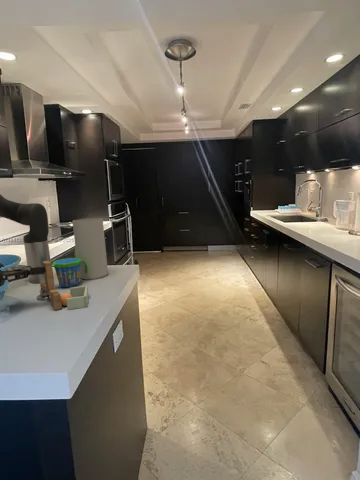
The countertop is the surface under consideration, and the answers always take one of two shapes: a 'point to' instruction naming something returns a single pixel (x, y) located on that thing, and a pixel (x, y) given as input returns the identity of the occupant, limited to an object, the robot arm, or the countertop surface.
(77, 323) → the countertop surface
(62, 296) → the ball
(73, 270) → the snack cup
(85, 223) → the cylinder vase
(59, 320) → the countertop surface
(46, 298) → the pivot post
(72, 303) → the sage green c-shaped clamp
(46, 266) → the lever
